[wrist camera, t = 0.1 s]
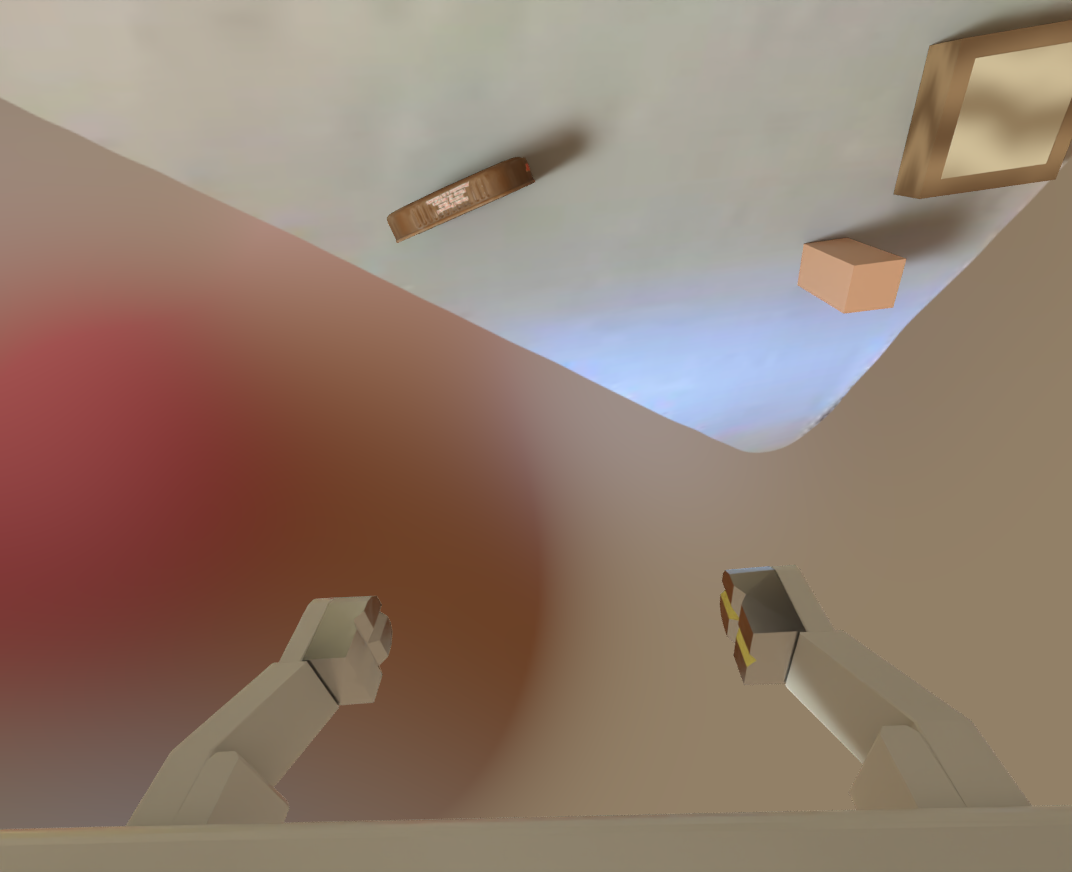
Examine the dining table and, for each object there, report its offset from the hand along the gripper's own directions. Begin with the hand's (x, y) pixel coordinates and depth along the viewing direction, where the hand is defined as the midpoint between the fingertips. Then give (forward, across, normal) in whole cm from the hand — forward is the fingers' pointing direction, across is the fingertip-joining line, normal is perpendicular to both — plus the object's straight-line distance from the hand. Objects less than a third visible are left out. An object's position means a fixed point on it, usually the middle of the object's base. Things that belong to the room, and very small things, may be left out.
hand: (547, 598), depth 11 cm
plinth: (+48, -42, -5) cm, 64 cm away
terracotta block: (+48, -30, +7) cm, 57 cm away
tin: (+48, +8, -4) cm, 49 cm away
